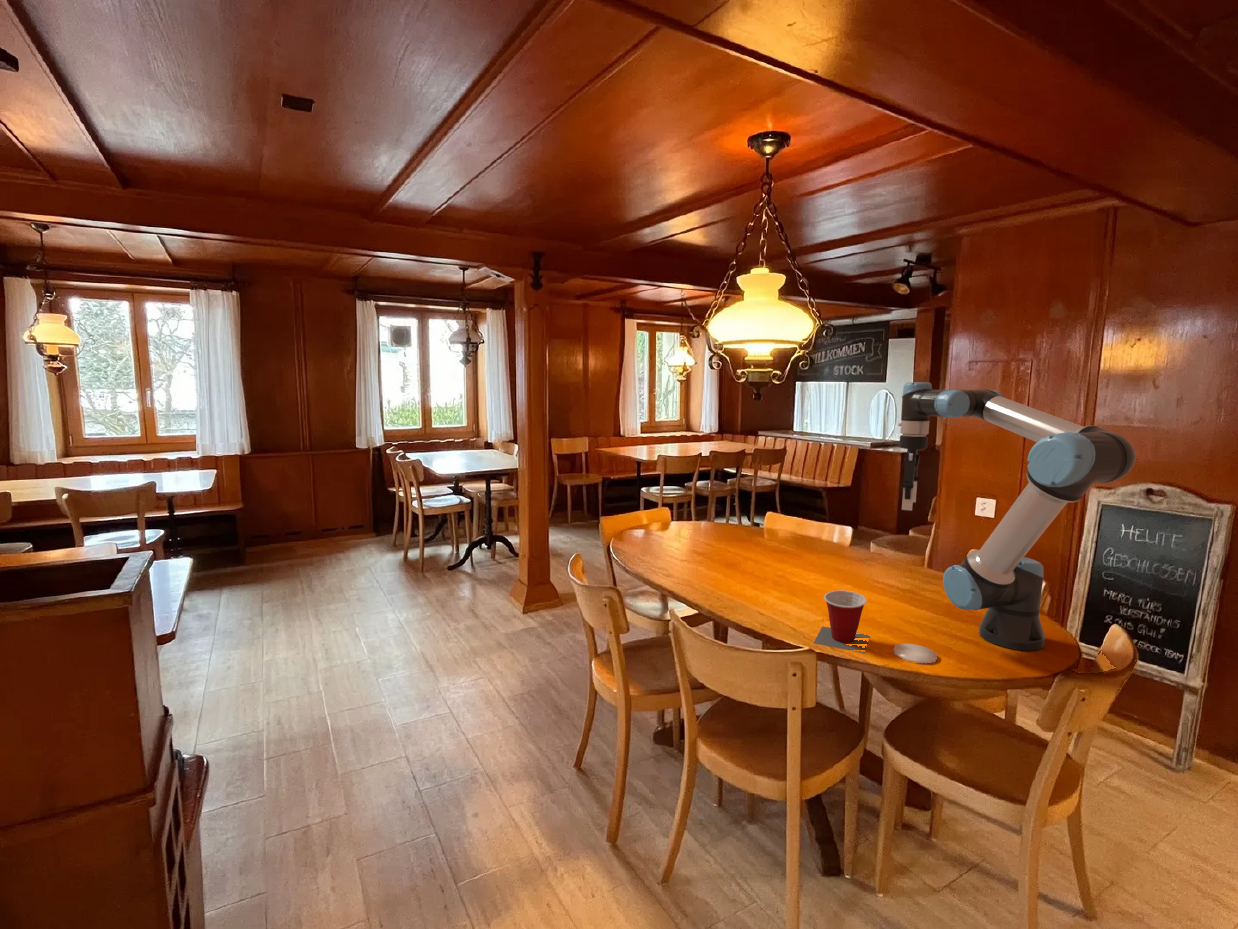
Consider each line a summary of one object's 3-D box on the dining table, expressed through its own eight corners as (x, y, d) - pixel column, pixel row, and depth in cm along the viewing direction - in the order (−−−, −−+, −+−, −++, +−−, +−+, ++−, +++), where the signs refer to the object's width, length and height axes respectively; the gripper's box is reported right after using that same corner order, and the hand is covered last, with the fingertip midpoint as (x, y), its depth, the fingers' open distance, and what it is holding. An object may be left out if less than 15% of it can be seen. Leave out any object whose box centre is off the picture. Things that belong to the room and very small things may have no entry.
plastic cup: (814, 638, 169) (816, 596, 167) (833, 627, 176) (835, 587, 175) (853, 651, 161) (855, 607, 159) (870, 639, 169) (873, 597, 167)
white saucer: (937, 653, 161) (937, 649, 161) (935, 669, 152) (936, 664, 152) (895, 645, 166) (895, 641, 166) (891, 659, 157) (892, 655, 157)
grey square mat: (870, 638, 171) (870, 635, 171) (864, 656, 160) (864, 653, 160) (822, 629, 177) (822, 626, 177) (813, 645, 166) (813, 643, 166)
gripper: (903, 431, 195) (899, 497, 197) (895, 437, 173) (890, 512, 176) (930, 432, 191) (925, 500, 194) (925, 439, 169) (919, 515, 172)
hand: (908, 505), depth 185 cm, fingers open, 13 cm apart
